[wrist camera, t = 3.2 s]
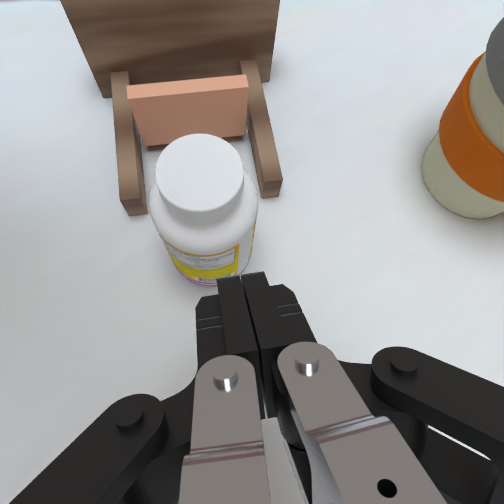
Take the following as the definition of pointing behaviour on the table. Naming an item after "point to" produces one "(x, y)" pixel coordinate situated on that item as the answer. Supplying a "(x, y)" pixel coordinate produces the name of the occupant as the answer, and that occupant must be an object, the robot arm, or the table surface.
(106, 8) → the cradle
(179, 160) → the supplement bottle
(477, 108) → the reusable coffee cup
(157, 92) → the plate
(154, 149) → the table surface
